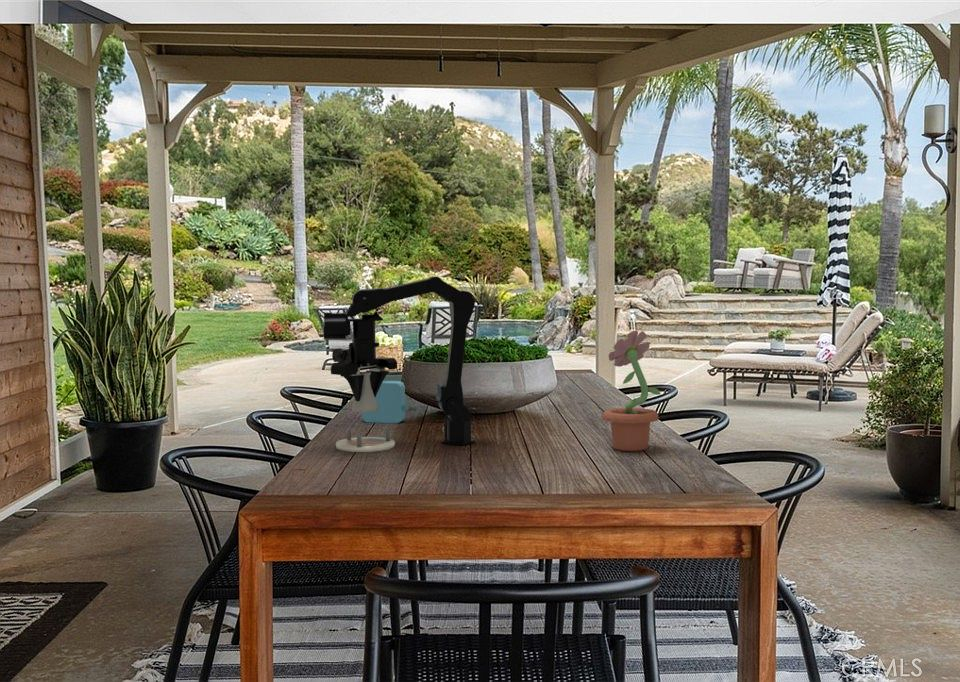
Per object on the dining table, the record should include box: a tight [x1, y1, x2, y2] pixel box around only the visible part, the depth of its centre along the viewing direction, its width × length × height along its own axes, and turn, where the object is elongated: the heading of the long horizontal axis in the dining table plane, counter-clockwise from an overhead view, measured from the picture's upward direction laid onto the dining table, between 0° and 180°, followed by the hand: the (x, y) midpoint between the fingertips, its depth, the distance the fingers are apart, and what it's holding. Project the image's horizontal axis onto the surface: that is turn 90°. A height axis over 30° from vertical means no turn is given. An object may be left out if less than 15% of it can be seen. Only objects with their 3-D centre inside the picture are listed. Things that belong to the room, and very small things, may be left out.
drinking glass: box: [383, 370, 411, 412], centre depth 291 cm, size 10×10×12 cm
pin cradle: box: [335, 427, 396, 453], centre depth 233 cm, size 15×15×4 cm
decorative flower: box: [602, 330, 661, 452], centre depth 228 cm, size 15×14×30 cm
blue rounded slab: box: [361, 381, 406, 424], centre depth 270 cm, size 12×4×12 cm, turn 79°
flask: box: [351, 371, 379, 414], centre depth 232 cm, size 7×7×10 cm
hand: (365, 399), depth 232 cm, fingers closed on flask, 5 cm apart
